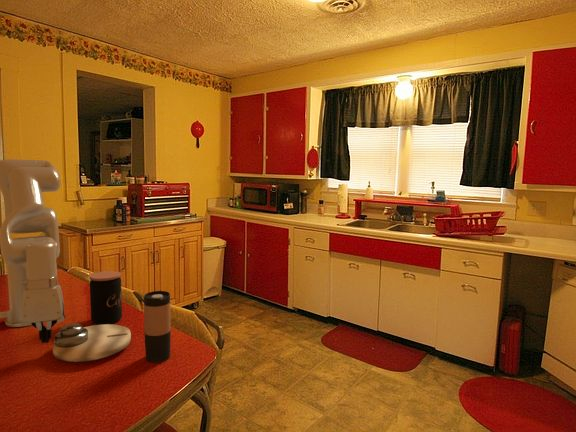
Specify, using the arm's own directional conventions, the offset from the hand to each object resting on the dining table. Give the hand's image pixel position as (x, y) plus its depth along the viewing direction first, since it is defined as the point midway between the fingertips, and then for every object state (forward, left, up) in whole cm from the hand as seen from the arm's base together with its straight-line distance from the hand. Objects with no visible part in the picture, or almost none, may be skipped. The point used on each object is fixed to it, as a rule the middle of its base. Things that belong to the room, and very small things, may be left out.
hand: (45, 341), depth 114 cm
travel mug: (+32, -12, -5) cm, 34 cm away
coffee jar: (+15, +24, -5) cm, 29 cm away
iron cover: (+7, 0, -1) cm, 7 cm away
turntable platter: (+13, 0, -3) cm, 13 cm away
